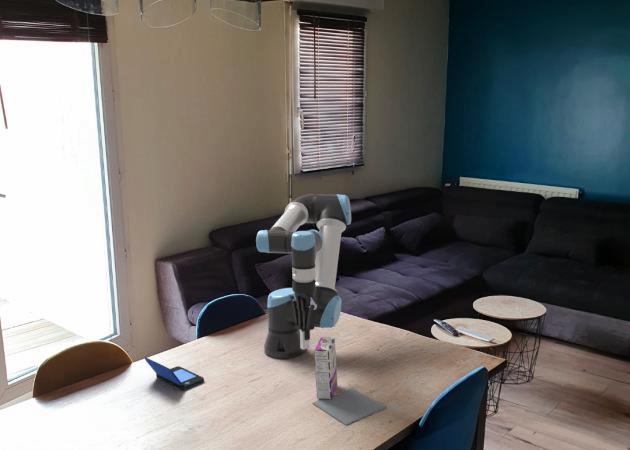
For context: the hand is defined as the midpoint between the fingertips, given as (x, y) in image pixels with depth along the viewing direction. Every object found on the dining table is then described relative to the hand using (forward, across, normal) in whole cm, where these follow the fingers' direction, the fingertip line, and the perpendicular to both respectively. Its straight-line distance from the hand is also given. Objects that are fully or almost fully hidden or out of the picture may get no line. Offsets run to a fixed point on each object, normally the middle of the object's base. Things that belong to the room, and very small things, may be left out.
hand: (304, 347), depth 201 cm
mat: (+12, +22, 0) cm, 25 cm away
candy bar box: (+11, +12, 0) cm, 16 cm away
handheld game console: (+12, -26, -35) cm, 45 cm away
